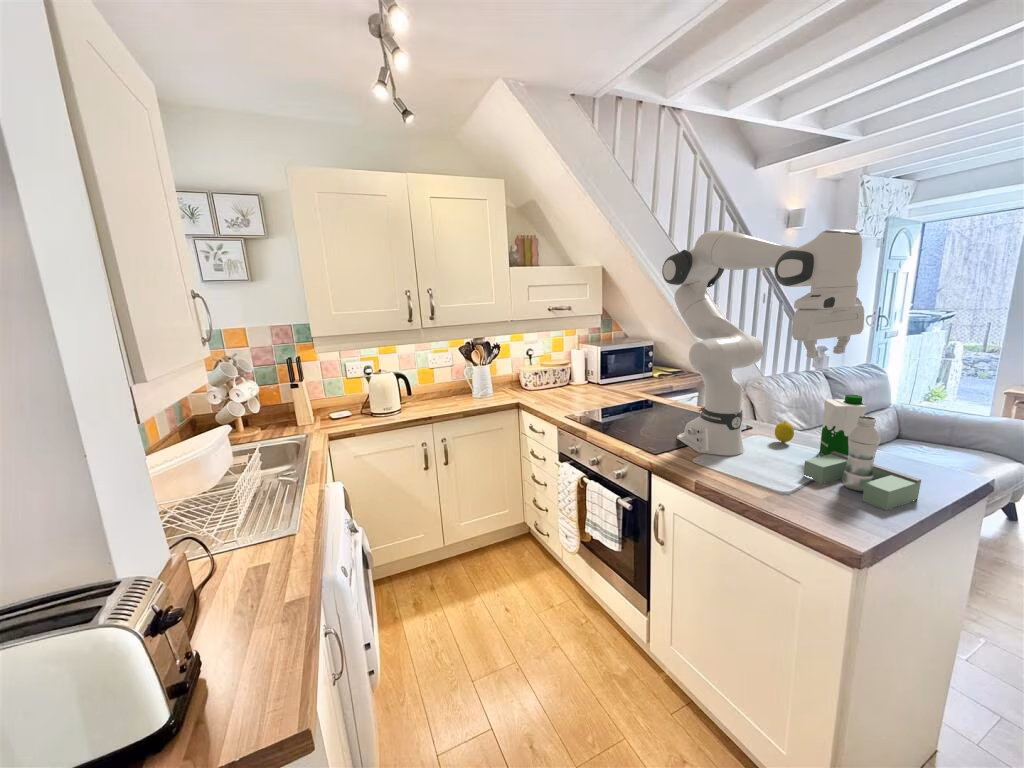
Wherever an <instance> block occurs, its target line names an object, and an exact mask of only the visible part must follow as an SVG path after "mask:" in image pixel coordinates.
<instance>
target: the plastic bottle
mask: <svg viewBox="0 0 1024 768" xmlns="http://www.w3.org/2000/svg"><path fill="white" fill-rule="evenodd" d="M856 424H858V425H857V426H856V427H855V428H853V429H852V430H851V431H850V432H849V434H848V446H849V450H848V460H847V464H846V467H845V470H844V472H843V475H842V478H841V480H842V483H843V485H844V487H846V488H849V489H851V490H854V491H857V492H858V491H859V492H864V487H865V483H866V482H870V481H873V480H874V476H873V465H874V464H875V458H876V455H877V451H878V447H879V445H880V442H881V436H880V434H879V432H878V431H877V430H876V429H875V427H877V418H876V417H873V416H869V415H864V416H858V419H857V422H856Z"/></svg>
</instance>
